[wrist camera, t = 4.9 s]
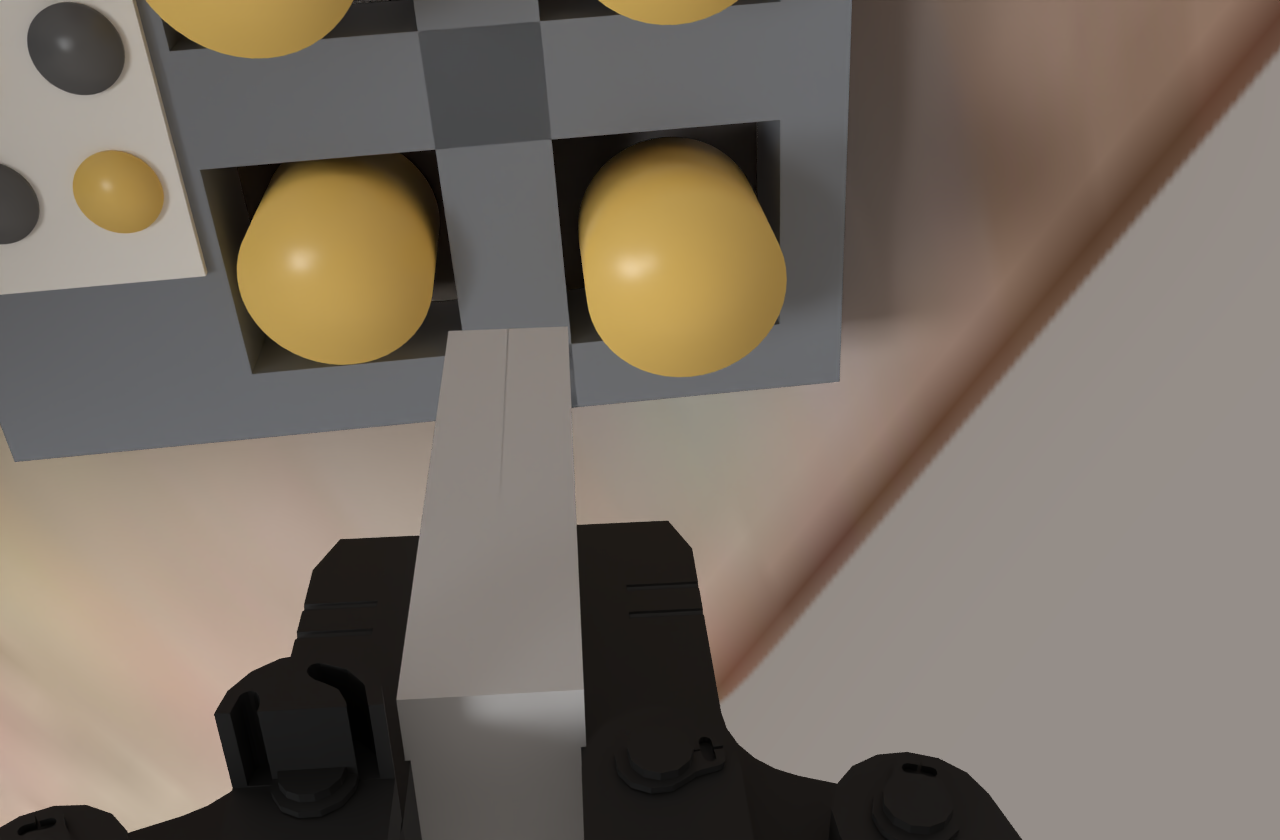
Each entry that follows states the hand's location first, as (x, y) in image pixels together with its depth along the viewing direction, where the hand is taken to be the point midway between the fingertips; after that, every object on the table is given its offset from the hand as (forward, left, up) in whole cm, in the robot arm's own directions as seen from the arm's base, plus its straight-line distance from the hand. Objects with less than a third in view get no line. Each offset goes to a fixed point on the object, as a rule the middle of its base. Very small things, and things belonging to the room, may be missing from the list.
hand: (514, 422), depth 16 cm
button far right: (+3, -3, -13) cm, 14 cm away
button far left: (-4, -3, -15) cm, 16 cm away
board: (-3, +1, -15) cm, 15 cm away
